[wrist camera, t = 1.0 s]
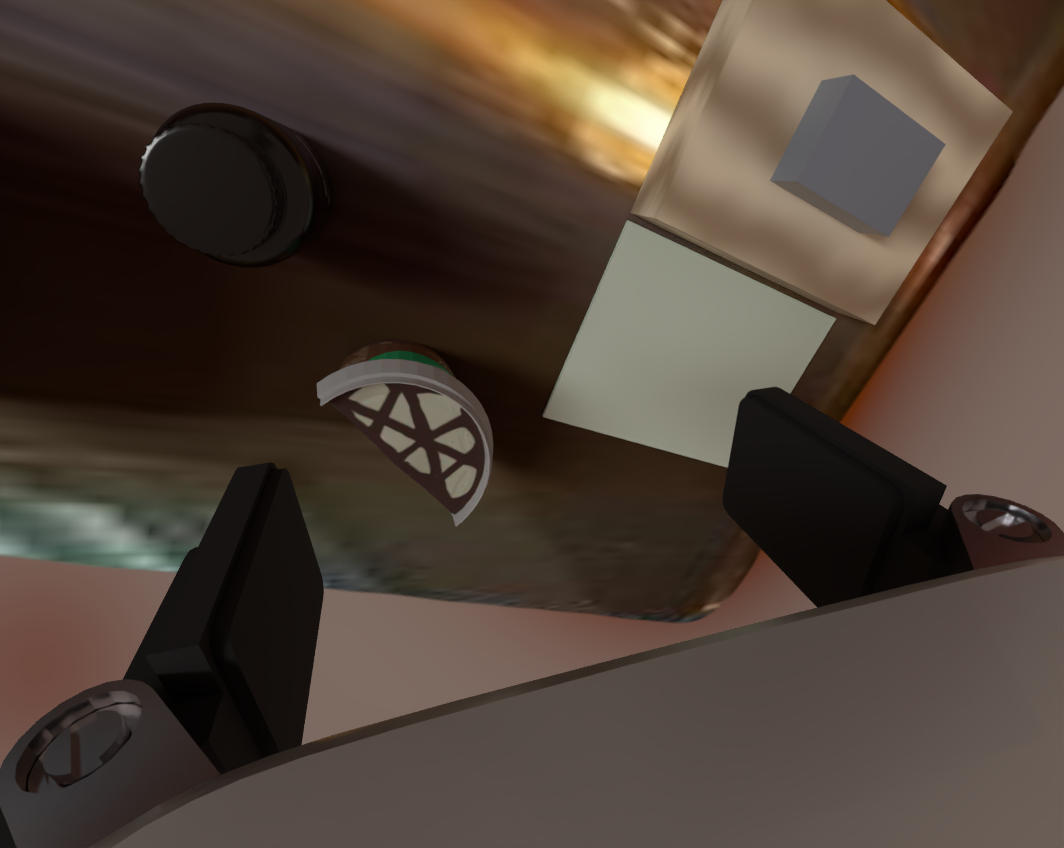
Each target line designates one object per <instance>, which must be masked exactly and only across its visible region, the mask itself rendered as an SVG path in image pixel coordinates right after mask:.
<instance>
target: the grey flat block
mask: <svg viewBox="0 0 1064 848" xmlns="http://www.w3.org/2000/svg"><path fill="white" fill-rule="evenodd" d="M945 145H946V144H945V143H943V142H942V141H941V140H939V139H938V138H937V137H936V136H934V135H933V134H932V133H930V132H929V131H928V130H926V129H925V128H924V127H922V126H921V125H920V124H918V123H917V122H916V121H914V120H913V119H912V118H911V117H909V116H908V115H907V114H905V113H904V112H903V111H901V110H900V109H899V108H897V107H896V106H895V105H893V104H892V103H891V102H889V101H888V100H887V99H886V98H884V97H883V96H882V95H880V94H879V93H878V92H876V91H875V90H874V89H872V88H871V87H870V86H868V85H867V84H866V83H865V82H863V81H862V80H861V79H859V78H858V77H857V76H855V75H854V74H853V75H848V76H843V77H838V78H832V79H827V80H822V81H821V83H820V85H819V87H818V88H817V90H816V92H815V94H814V96H813V98H812V100H811V102H810V104H809V106H808V108H807V110H806V112H805V114H804V116H803V117H802V119H801V121H800V123H799V125H798V127H797V129H796V131H795V133H794V135H793V137H792V139H791V141H790V143H789V145H788V147H787V148H786V150H785V152H784V154H783V156H782V158H781V160H780V162H779V164H778V166H777V168H776V170H775V172H774V174H773V176H772V178H771V179H770V181H771V182H773V183H775V184H776V185H778V186H780V187H782V188H783V189H785V190H787V191H788V192H790V193H792V194H794V195H795V196H797V197H799V198H800V199H802V200H804V201H806V202H807V203H809V204H811V205H812V206H814V207H816V208H818V209H819V210H821V211H823V212H824V213H826V214H828V215H830V216H831V217H833V218H835V219H836V220H838V221H840V222H842V223H843V224H845V225H847V226H848V227H850V228H852V229H854V230H855V231H857V232H859V233H864V234H871V235H878V236H885V237H889V236H890V234H891V232H892V231H893V229H894V228H895V226H896V224H897V223H898V221H899V219H900V218H901V216H902V215H903V213H904V211H905V210H906V208H907V207H908V205H909V203H910V202H911V200H912V198H913V197H914V195H915V194H916V192H917V190H918V189H919V187H920V185H921V184H922V182H923V181H924V179H925V177H926V176H927V174H928V172H929V171H930V169H931V168H932V166H933V164H934V163H935V161H936V159H937V158H938V156H939V155H940V153H941V151H942V150H943V148H944V147H945Z"/></svg>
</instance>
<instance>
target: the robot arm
mask: <svg viewBox="0 0 1064 848" xmlns="http://www.w3.org/2000/svg"><path fill="white" fill-rule="evenodd" d="M946 487H947V486H946V485H945V484H943V483H941V482H939V481H938V480H936V479H934V478H933V477H931V476H929V475H928V474H926V473H924V472H923V471H921V470H919V469H917V468H916V467H914V466H912V465H911V464H909V463H907V462H905V461H904V460H902V459H900V458H899V457H897V456H895V455H894V454H892V453H890V452H888V451H887V450H885V449H883V448H882V447H880V446H878V445H876V444H875V443H873V442H871V441H870V440H868V439H866V438H865V437H863V436H861V435H859V434H858V433H856V432H854V431H852V430H851V429H849V428H847V427H845V426H844V425H842V424H841V423H839V422H837V421H836V420H834V419H832V418H830V417H829V416H827V415H825V414H824V413H822V412H820V411H819V410H817V409H815V408H813V407H812V406H810V405H808V404H807V403H805V402H803V401H801V400H800V399H798V398H796V397H795V396H793V395H791V394H790V393H788V392H786V391H784V390H783V389H781V388H779V387H769V388H762V389H756V390H751V391H749V392H748V393H747V394H746V396H745V398H743V399H742V400H741V401H740V403H739V407H738V413H737V418H736V424H735V430H734V435H733V441H732V447H731V452H730V458H729V464H728V470H727V475H726V481H725V487H724V492H723V505H724V508H725V510H726V512H727V513H728V514H729V516H730V517H731V518H732V519H733V520H734V521H735V522H736V523H737V524H738V525H739V526H740V527H741V528H742V529H743V530H744V531H745V532H746V533H747V534H748V535H749V536H750V537H751V539H752V540H753V541H754V542H755V543H756V544H757V545H758V546H759V547H760V548H761V549H762V550H763V551H764V552H765V553H766V554H767V555H768V556H769V557H770V558H771V559H772V561H773V562H774V563H775V564H776V565H777V566H778V567H779V568H780V569H781V570H782V571H783V572H784V573H785V574H786V575H787V576H788V577H789V578H790V579H791V580H792V581H793V582H794V584H795V585H797V587H798V588H799V589H800V590H801V591H802V592H803V593H804V594H805V595H806V596H807V597H808V598H809V599H810V600H811V601H812V602H813V603H814V604H815V605H816V606H817V608H814V609H811V610H807V611H802V612H798V613H794V614H790V615H786V616H783V617H778V618H774V619H771V620H767V621H763V622H759V623H755V624H751V625H747V626H743V627H739V628H735V629H731V630H727V631H724V632H719V633H716V634H712V635H708V636H704V637H700V638H696V639H692V640H688V641H684V642H680V643H676V644H673V645H669V646H665V647H661V648H657V649H653V650H649V651H645V652H641V653H637V654H634V655H630V656H626V657H622V658H618V659H614V660H610V661H606V662H603V663H599V664H595V665H591V666H587V667H583V668H580V669H576V670H572V671H568V672H564V673H561V674H557V675H553V676H550V677H545V678H542V679H538V680H534V681H530V682H527V683H522V684H519V685H515V686H511V687H507V688H503V689H500V690H496V691H492V692H488V693H484V694H480V695H477V696H473V697H469V698H465V699H461V700H457V701H454V702H450V703H446V704H443V705H439V706H436V707H432V708H428V709H425V710H421V711H418V712H414V713H411V714H407V715H404V716H400V717H396V718H393V719H389V720H385V721H382V722H378V723H374V724H371V725H367V726H364V727H360V728H357V729H353V730H349V731H346V732H342V733H339V734H335V735H332V736H329V737H326V738H322V739H320V740H317V741H313V742H310V743H307V744H304V745H301V744H302V737H303V731H304V724H305V717H306V710H307V704H308V697H309V690H310V683H311V676H312V669H313V663H314V656H315V649H316V642H317V636H318V629H319V622H320V615H321V609H322V602H323V593H324V588H323V579H322V575H321V572H320V569H319V566H318V563H317V559H316V556H315V553H314V550H313V547H312V544H311V540H310V537H309V534H308V531H307V528H306V525H305V521H304V518H303V515H302V512H301V509H300V505H299V502H298V499H297V496H296V493H295V490H294V486H293V483H292V480H291V477H290V474H289V472H288V470H287V469H286V468H284V469H277V467H276V466H275V464H274V463H265V464H259V465H252V466H245V467H239V468H237V469H236V471H235V473H234V475H233V477H232V479H231V481H230V483H229V485H228V487H227V489H226V491H225V493H224V495H223V497H222V499H221V501H220V503H219V506H218V508H217V510H216V512H215V514H214V516H213V518H212V520H211V522H210V524H209V526H208V528H207V530H206V532H205V534H204V536H203V538H202V540H201V542H200V544H199V547H196V548H194V549H192V550H190V551H189V552H188V554H187V555H186V556H185V558H184V560H183V562H182V564H181V566H180V568H179V570H178V572H177V574H176V576H175V578H174V580H173V582H172V584H171V586H170V588H169V590H168V592H167V594H166V596H165V597H164V599H163V601H162V604H161V605H160V607H159V609H158V611H157V613H156V615H155V617H154V619H153V621H152V623H151V625H150V627H149V629H148V631H147V633H146V635H145V637H144V639H143V641H142V643H141V645H140V647H139V649H138V651H137V653H136V655H135V656H134V659H133V660H132V662H131V664H130V666H129V668H128V670H127V672H126V674H125V676H124V678H123V680H117V681H111V682H106V683H103V684H101V685H98V686H95V687H92V688H90V689H87V690H84V691H82V692H81V693H79V694H77V695H75V696H73V697H72V698H70V699H68V700H66V701H64V702H62V703H61V704H59V705H58V706H57V707H55V708H54V709H53V710H51V711H50V712H48V713H47V714H46V715H44V716H43V717H42V718H40V719H39V720H38V721H37V722H36V723H35V724H34V725H33V726H32V727H31V728H30V729H29V730H28V731H27V732H26V733H25V734H24V735H23V736H22V737H21V738H20V739H19V740H18V741H17V743H16V744H15V745H14V746H13V748H12V749H11V751H10V752H9V753H8V755H7V756H6V758H5V759H4V761H3V763H2V766H1V768H0V848H1064V533H1063V531H1062V530H1061V529H1060V528H1059V527H1058V526H1057V525H1056V524H1055V523H1054V522H1053V521H1051V520H1050V519H1049V518H1047V517H1046V516H1044V515H1043V514H1041V513H1039V512H1037V511H1035V510H1033V509H1031V508H1029V507H1027V506H1025V505H1022V504H1019V503H1016V502H1014V501H1011V500H1007V499H1003V498H999V497H995V496H989V495H981V494H969V495H963V496H959V497H956V498H955V499H954V500H953V502H952V503H951V505H950V507H949V509H948V510H947V509H946V508H944V507H943V506H941V505H939V503H940V500H941V498H942V496H943V494H944V491H945V489H946Z"/></svg>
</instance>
